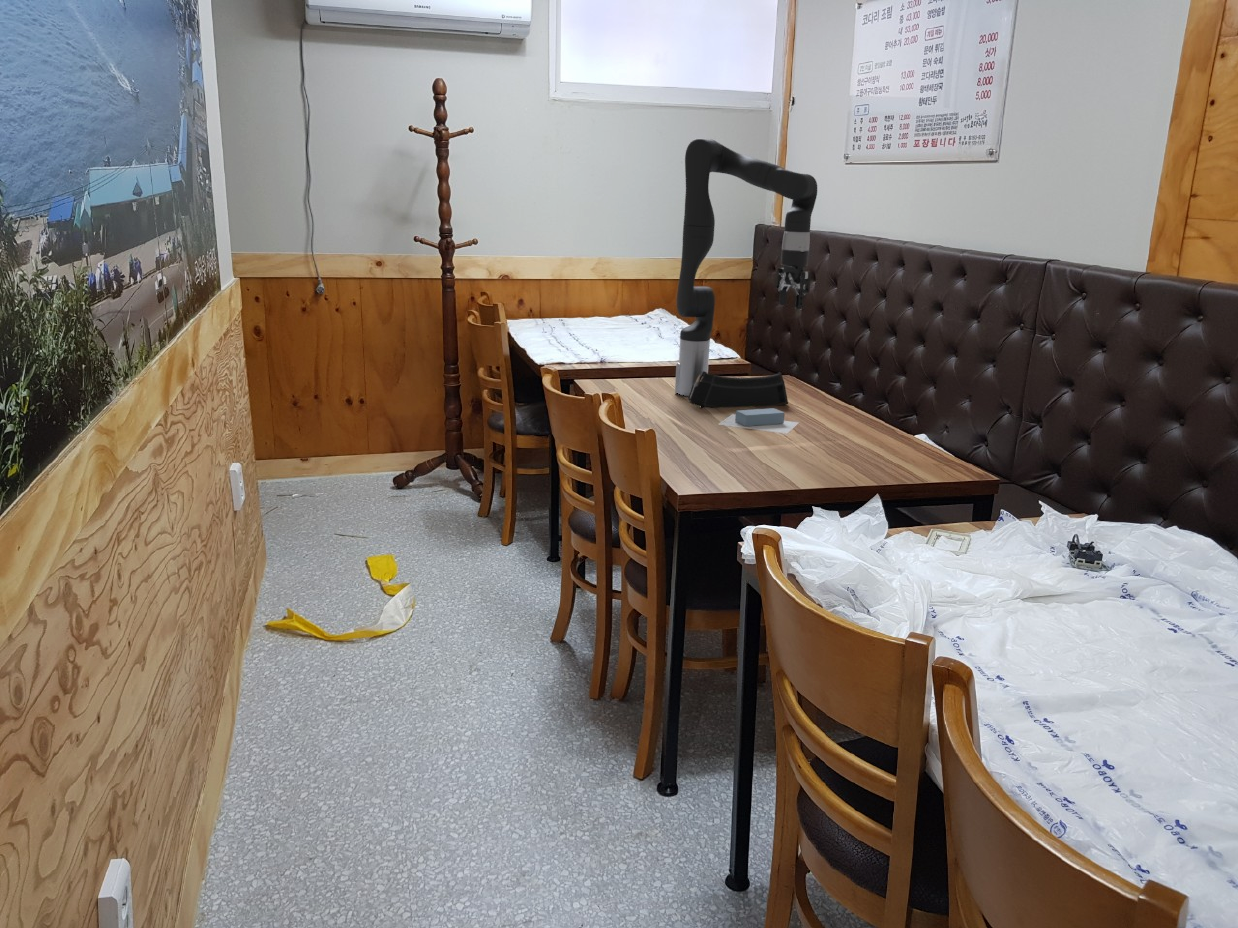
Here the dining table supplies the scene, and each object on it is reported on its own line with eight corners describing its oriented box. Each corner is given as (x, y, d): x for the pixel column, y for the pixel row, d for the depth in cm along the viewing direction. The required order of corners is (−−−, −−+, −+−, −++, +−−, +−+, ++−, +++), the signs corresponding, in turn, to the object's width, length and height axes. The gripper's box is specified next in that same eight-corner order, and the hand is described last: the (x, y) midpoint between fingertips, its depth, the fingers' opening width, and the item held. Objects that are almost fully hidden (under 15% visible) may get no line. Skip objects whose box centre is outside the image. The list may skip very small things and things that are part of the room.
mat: (717, 427, 238) (717, 424, 238) (732, 416, 251) (732, 413, 250) (786, 436, 231) (787, 433, 231) (798, 425, 244) (799, 422, 243)
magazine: (793, 376, 265) (704, 348, 255) (798, 378, 262) (708, 350, 252) (773, 429, 268) (685, 404, 259) (778, 432, 265) (688, 406, 256)
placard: (783, 424, 241) (745, 426, 237) (772, 419, 246) (735, 422, 241) (784, 412, 240) (746, 415, 236) (773, 408, 245) (735, 410, 240)
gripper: (770, 246, 253) (766, 304, 258) (797, 250, 240) (792, 310, 245) (793, 247, 256) (788, 303, 260) (821, 250, 243) (815, 309, 248)
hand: (790, 306), depth 253 cm, fingers open, 8 cm apart
